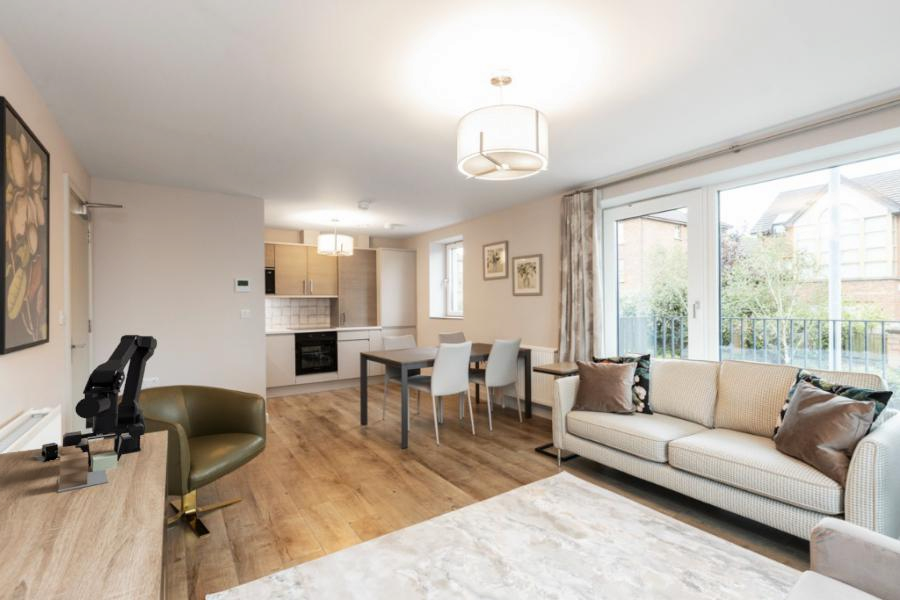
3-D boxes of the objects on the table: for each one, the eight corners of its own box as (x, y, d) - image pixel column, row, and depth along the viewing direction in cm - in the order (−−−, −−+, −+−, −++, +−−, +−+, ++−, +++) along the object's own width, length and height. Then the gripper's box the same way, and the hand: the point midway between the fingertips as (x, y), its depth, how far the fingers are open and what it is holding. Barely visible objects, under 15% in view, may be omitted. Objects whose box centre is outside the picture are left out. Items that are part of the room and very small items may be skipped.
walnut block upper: (86, 465, 117) (87, 451, 118) (87, 470, 113) (88, 456, 113) (59, 469, 114) (60, 456, 114) (59, 475, 110) (60, 461, 110)
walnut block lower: (86, 478, 117) (86, 465, 117) (87, 484, 113) (87, 470, 113) (59, 483, 114) (59, 469, 114) (59, 489, 109) (59, 475, 110)
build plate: (70, 460, 135) (71, 445, 135) (39, 467, 129) (40, 451, 129) (57, 452, 142) (58, 438, 142) (27, 458, 135) (28, 443, 136)
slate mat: (104, 470, 124) (104, 469, 124) (108, 482, 115) (108, 481, 115) (58, 479, 117) (58, 478, 117) (57, 492, 108) (57, 491, 108)
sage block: (114, 463, 131) (114, 451, 131) (116, 467, 127) (117, 455, 127) (90, 467, 127) (91, 455, 127) (93, 472, 123) (93, 459, 123)
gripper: (140, 402, 140) (138, 450, 139) (63, 410, 127) (61, 463, 127) (145, 407, 132) (143, 459, 131) (63, 417, 119) (61, 474, 118)
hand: (104, 463), depth 127 cm, fingers open, 6 cm apart
